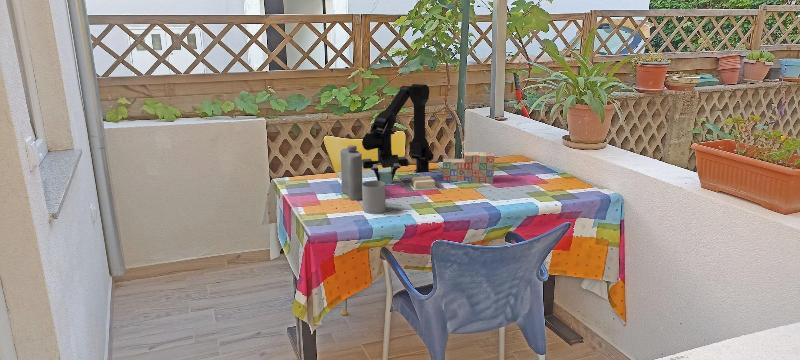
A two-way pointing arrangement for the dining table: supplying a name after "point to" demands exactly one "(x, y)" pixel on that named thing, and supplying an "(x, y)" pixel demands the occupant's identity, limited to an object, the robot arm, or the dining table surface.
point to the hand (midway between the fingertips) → (385, 182)
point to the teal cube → (385, 177)
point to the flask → (351, 172)
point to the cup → (373, 197)
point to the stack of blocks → (470, 168)
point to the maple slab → (422, 182)
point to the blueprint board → (409, 188)
